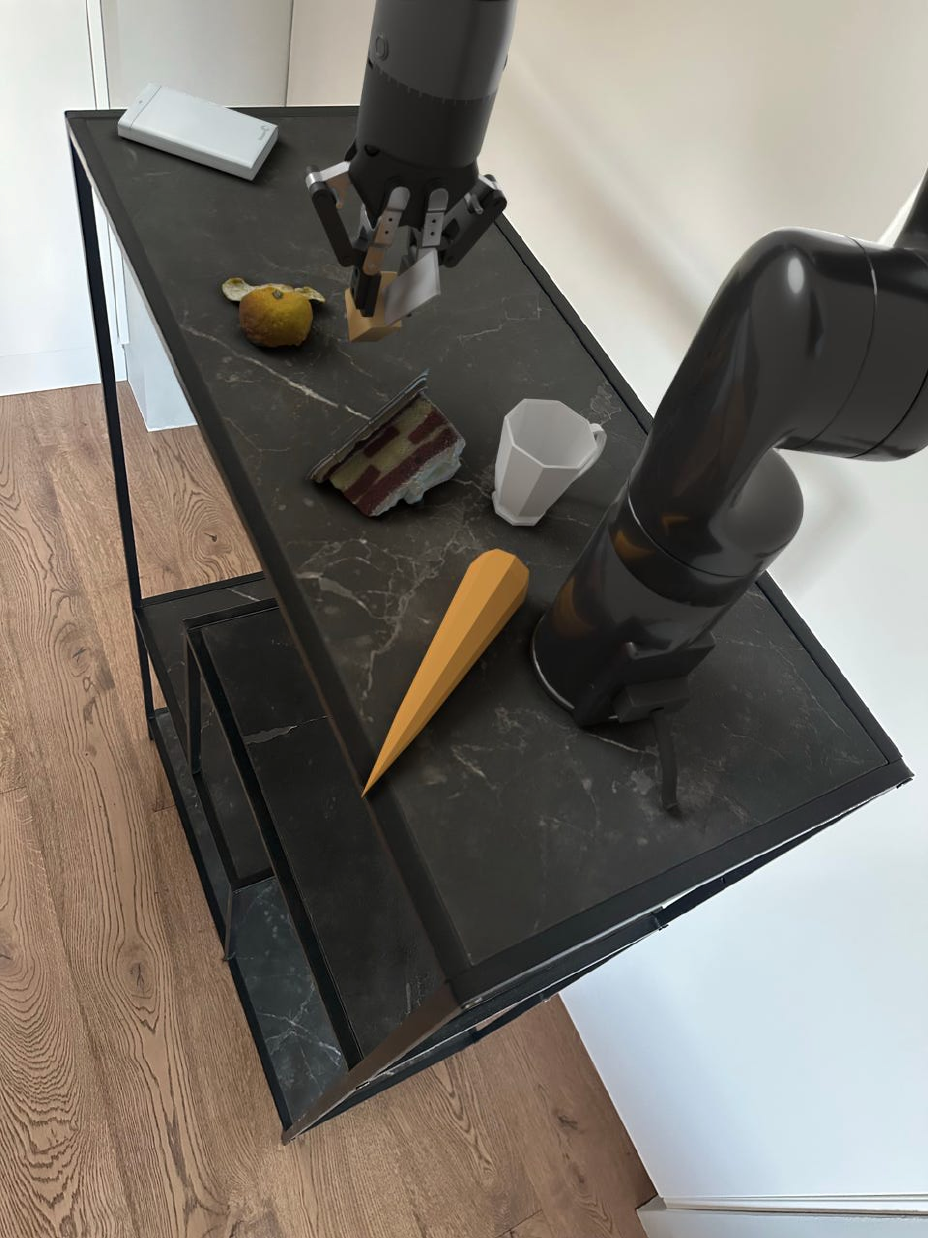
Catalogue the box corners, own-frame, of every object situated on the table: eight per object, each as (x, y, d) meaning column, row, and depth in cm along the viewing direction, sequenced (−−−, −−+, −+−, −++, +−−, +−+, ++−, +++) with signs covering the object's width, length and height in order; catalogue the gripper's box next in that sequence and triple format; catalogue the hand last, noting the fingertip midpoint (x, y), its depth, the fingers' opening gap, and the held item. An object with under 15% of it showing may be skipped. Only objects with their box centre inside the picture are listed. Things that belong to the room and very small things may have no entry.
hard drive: (278, 123, 87) (151, 77, 85) (252, 166, 82) (116, 119, 81) (277, 140, 88) (151, 95, 87) (251, 183, 83) (117, 137, 82)
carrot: (526, 541, 61) (547, 587, 64) (472, 536, 63) (494, 581, 66) (372, 786, 51) (405, 827, 54) (316, 768, 53) (350, 808, 56)
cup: (457, 484, 70) (485, 408, 63) (556, 451, 74) (592, 378, 68) (506, 552, 67) (540, 481, 61) (606, 514, 72) (647, 444, 65)
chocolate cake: (365, 553, 64) (490, 438, 62) (298, 478, 64) (421, 359, 61) (390, 539, 74) (500, 438, 71) (331, 474, 73) (440, 370, 71)
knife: (349, 342, 69) (344, 290, 68) (377, 341, 70) (372, 290, 69) (421, 294, 54) (415, 228, 54) (455, 294, 55) (449, 229, 54)
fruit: (321, 291, 77) (326, 255, 74) (328, 359, 73) (334, 323, 70) (221, 281, 75) (223, 242, 72) (223, 350, 71) (224, 312, 68)
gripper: (524, 33, 55) (456, 275, 68) (299, 6, 49) (274, 274, 63) (569, 104, 51) (487, 343, 65) (332, 82, 46) (298, 348, 60)
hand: (382, 308), depth 64 cm, fingers closed on knife, 2 cm apart
